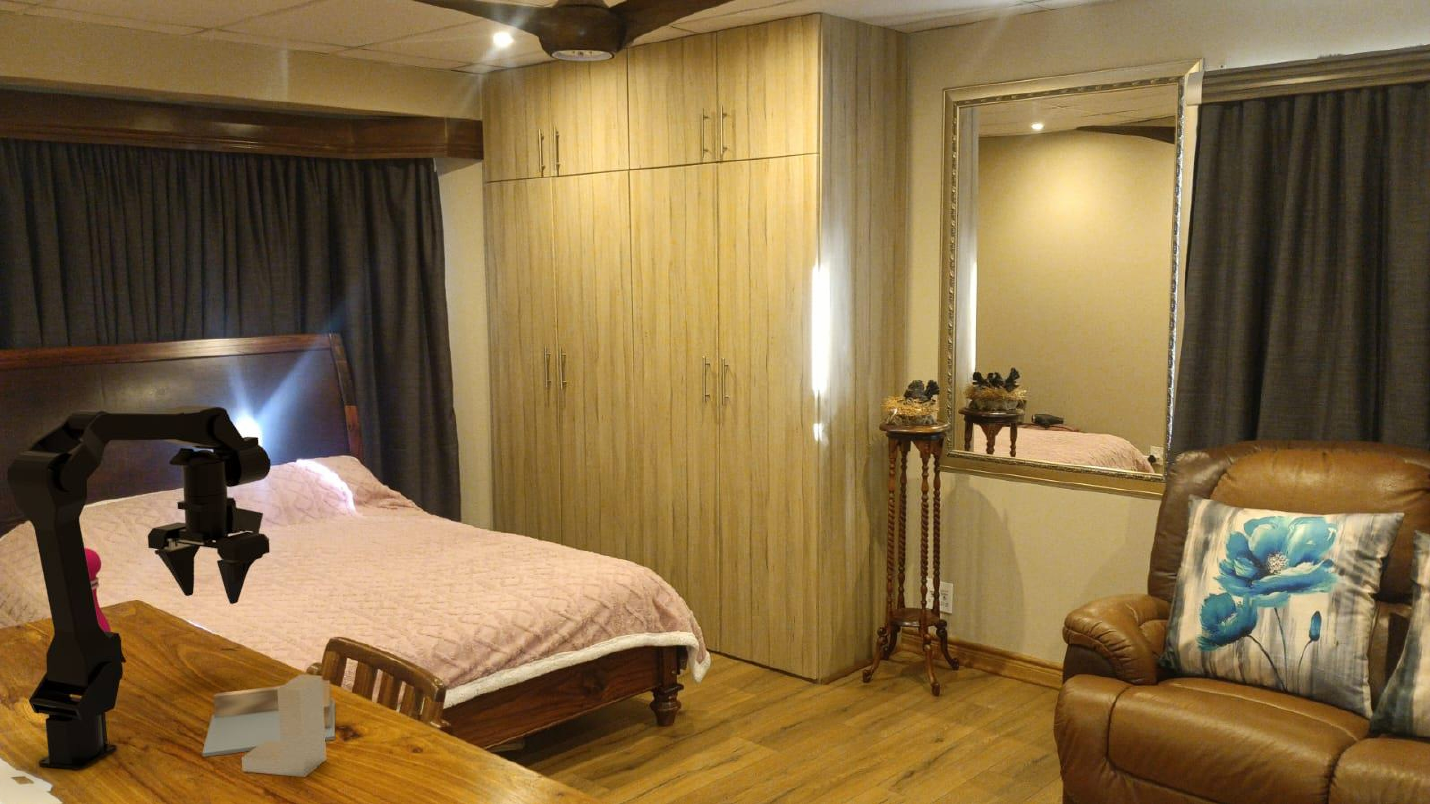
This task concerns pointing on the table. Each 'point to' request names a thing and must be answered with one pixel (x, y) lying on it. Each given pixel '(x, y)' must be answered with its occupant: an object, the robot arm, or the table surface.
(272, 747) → the bracket
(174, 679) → the table surface
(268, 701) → the board walls
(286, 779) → the table surface
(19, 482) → the robot arm
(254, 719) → the slate board
